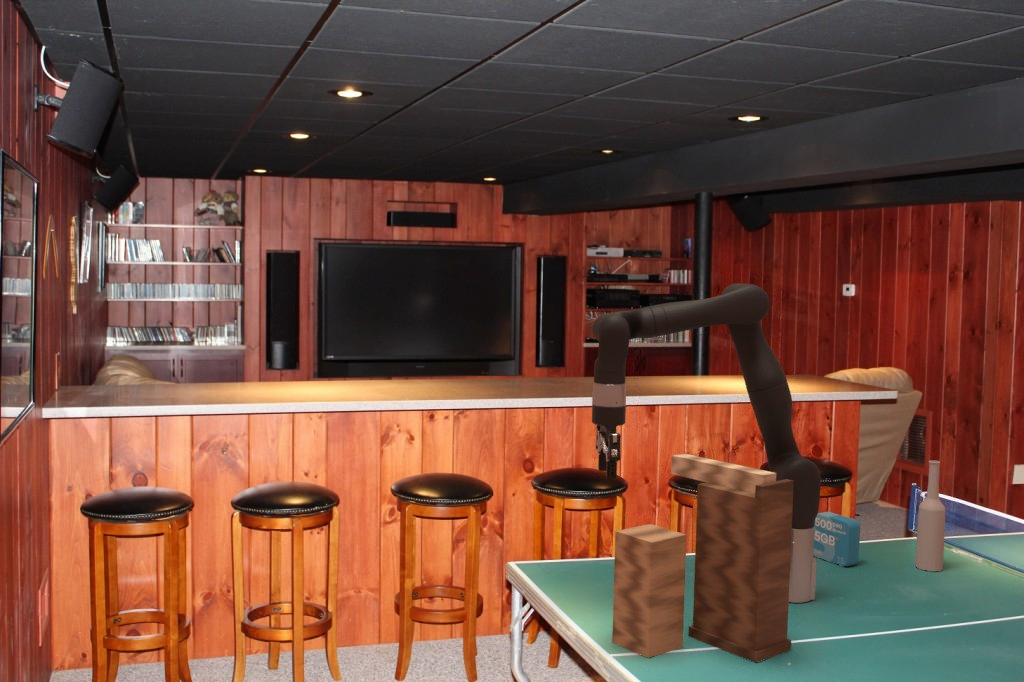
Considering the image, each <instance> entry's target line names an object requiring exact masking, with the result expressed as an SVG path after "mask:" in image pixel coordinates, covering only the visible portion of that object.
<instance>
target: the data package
mask: <svg viewBox="0 0 1024 682" xmlns="http://www.w3.org/2000/svg"><path fill="white" fill-rule="evenodd" d="M860 540H861V524H860V522H859V521H858V520H857V519H855V518H852V517H848V516H844V515H841V514H838V513H834V512H831V511H825V512H818V514H817V517H816V519H815V526H814V548H813V557H814V556H816V557H818V558H822V559H824V560H828V561H831V562H834V563H837V564H840V565H842V566H847V567H851V566H856V565H857V564H858V563H859V561H860ZM816 557H815V558H816ZM818 558H817V559H818ZM824 560H823V561H824ZM842 566H841V567H842Z"/></svg>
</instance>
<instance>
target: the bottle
mask: <svg viewBox="0 0 1024 682" xmlns="http://www.w3.org/2000/svg"><path fill="white" fill-rule="evenodd" d="M928 463H929V466H928V468H929V470H928V471H929V472H928V481H927V483H928V484H927V491H926V497H925V499H924V500H922V501H921V502H920V504H919V505H918V515H917V517H918V518H917V533H916V546H915V547H916V548H915V549H916V550H915V562H914V563H915V565H914V566H916V567H917V568H919V569H918V570H920V569H923V570H929V571H940V570H942V571H944V554H945V553H944V552H945V532H946V529H945V528H946V507H945V505H944V503H943V502H942V501H941V500H940V499H941V498H940V495H939V494H940V490H939V488H940V487H939V484H940V483H939V482H940V481H939V480H940V464H941V462H940V461H939V460H934V459H933V460H928ZM916 567H915V568H916ZM917 568H916V569H917ZM923 570H922V571H923ZM940 572H941V571H940Z"/></svg>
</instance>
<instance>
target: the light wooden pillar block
mask: <svg viewBox="0 0 1024 682" xmlns="http://www.w3.org/2000/svg"><path fill="white" fill-rule="evenodd" d="M614 534H615V535H614V565H613V566H614V568H613V569H614V571H613V572H614V573H613V601H612V603H613V606H612V633H611V634H612V638H611V639H612V641H611V642H612V643H613V644H615V645H618V646H619V647H622V648H624V649H626V650H628V649H629V650H628V651H631V652H633V653H635V652H636V654H637V653H638V655H640V654H641V655H640V656H642V655H643V657H644V656H646V657H645V658H647V657H651V658H652V656H654V657H656V656H659V655H662V654H666V653H669V652H671V651H674V650H678V649H679V648H683V646H684V621H685V619H684V617H685V616H684V615H685V593H686V591H685V590H686V564H687V563H686V561H687V560H686V559H687V557H686V556H687V534H685V533H683V532H680V531H679V532H678V531H675V530H672V529H669V528H666V527H662V526H659V525H655V524H652V523H649V524H648V523H647V524H643V525H638V526H633V527H628V528H624V529H623V528H622V529H619V530H615V533H614Z"/></svg>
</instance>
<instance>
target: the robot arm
mask: <svg viewBox="0 0 1024 682" xmlns="http://www.w3.org/2000/svg"><path fill="white" fill-rule="evenodd" d="M770 305H771V304H770V298H769V295H768V294H767V292H766V291H765V290H764V289H763V288H761V287H760V286H758V285H757V284H752V283H743V282H742V283H740V282H739V283H732V284H730V285H728V286H726V287H725V288H724V289H723V290H722V291H721V294H719V295H717V296H713V297H712V296H711V297H708V298H702V299H693V300H682V301H681V300H680V301H673V302H664V303H660V304H655V305H649V306H643V307H642V308H641V307H640V308H635V309H631V310H630V309H629V310H622V311H612V312H611V311H610V312H606V313H603V314H600V315H599V316H598V317H596V319H595V320H594V321H593V323H592V330H591V331H592V335H593V337H594V339H596V340H597V341H598V350H597V352H598V354H597V358H596V359H595V361H594V365H593V367H594V368H593V385H592V386H593V387H592V392H591V393H592V394H591V395H592V396H591V399H592V400H591V423H592V424H594V425H595V426H596V427H595V428H596V435H595V437H596V439H595V440H596V441H595V449H596V452H597V455H598V456H597V457H598V459H597V460H598V462H597V464H598V465H597V469H598V470H599V471H600V472H606V473H605V477H606V479H608V480H615V479H617V475H618V462H619V461H621V436H622V434H621V433H619V432H618V433H617V427H618V426H624V425H625V424H626V412H627V410H626V409H627V391H626V373H627V371H626V361H627V356H628V353H629V345H630V340H633V339H635V340H636V339H652V338H658V337H662V336H666V335H667V336H668V335H671V334H676V333H682V332H685V331H690V330H695V329H701V328H705V327H713V326H714V327H715V326H720V325H722V326H723V325H726V328H727V329H728V332H729V334H730V337H731V339H732V342H733V345H734V349H735V351H736V354H737V359H738V362H739V363H738V364H739V366H740V370H741V374H742V376H743V380H744V383H745V388H746V392H747V395H748V398H749V402H750V405H751V407H752V410H753V413H754V416H755V419H756V422H757V425H758V428H759V432H760V434H761V438H762V441H763V445H764V449H765V454H766V460H767V465H768V469H769V470H768V471H769V472H774V473H776V481H780V480H785V479H789V480H793V481H794V486H793V510H792V533H791V557H790V581H789V603H798V604H799V603H800V604H801V603H806V602H809V601H815V600H816V582H817V558H816V557H814V556H813V548H814V526H815V519H816V517H817V514H818V513H819V510H820V500H821V489H822V488H821V487H822V486H821V485H822V477H821V473H820V468H819V467H818V465H816V464H815V462H813V461H811V460H810V459H808V458H805V457H803V456H802V455H801V452H800V450H799V448H798V447H799V446H798V445H797V442H796V439H795V436H794V432H793V425H792V423H793V422H792V421H793V420H792V419H793V398H792V397H793V396H792V393H791V390H790V386H789V382H788V380H787V377H786V373H785V371H784V369H783V367H782V365H781V363H780V361H779V360H778V358H777V356H776V354H775V353H774V351H773V350H772V348H771V346H770V345H769V343H768V341H767V339H766V337H765V335H764V332H763V331H764V330H763V328H762V325H761V321H762V320H763V319H764V318H765V317H766V316H767V315H768V312H769V310H770Z"/></svg>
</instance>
